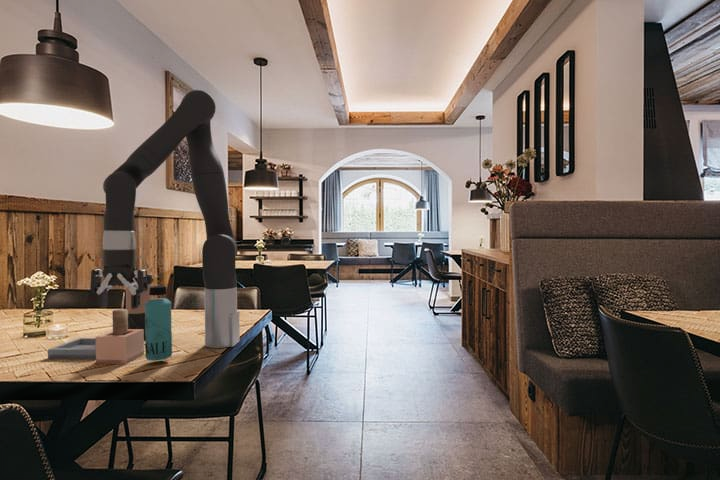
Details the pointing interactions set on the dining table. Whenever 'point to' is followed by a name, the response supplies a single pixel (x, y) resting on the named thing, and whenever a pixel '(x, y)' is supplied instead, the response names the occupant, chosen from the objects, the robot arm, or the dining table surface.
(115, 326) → the walnut dowel
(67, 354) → the slate tray
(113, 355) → the pin cup
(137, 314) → the travel mug
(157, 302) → the beverage bottle
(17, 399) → the dining table surface
